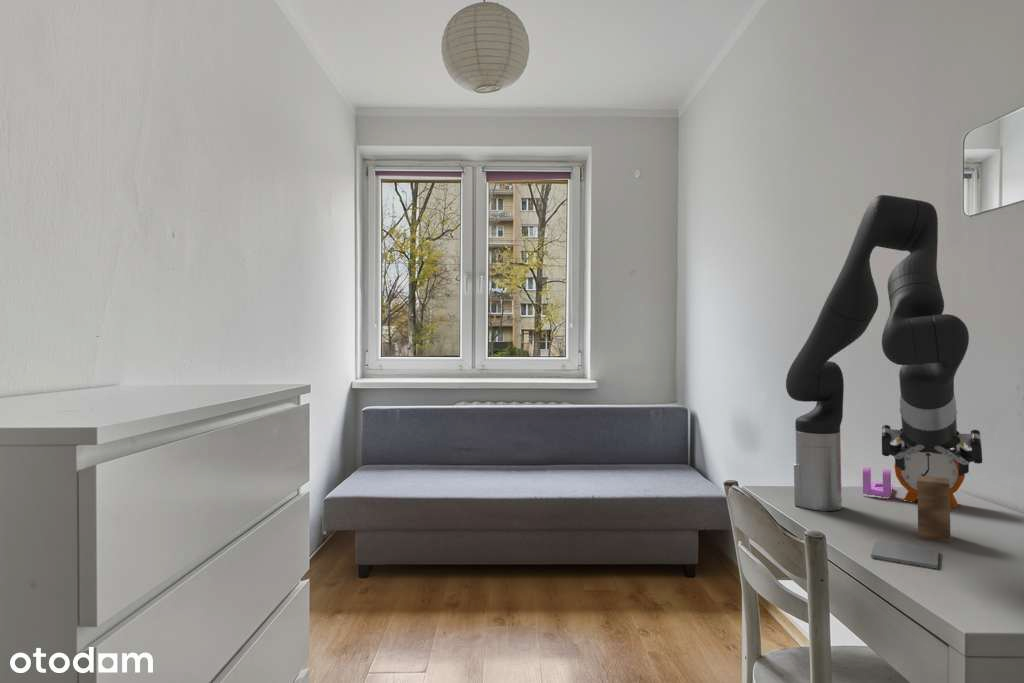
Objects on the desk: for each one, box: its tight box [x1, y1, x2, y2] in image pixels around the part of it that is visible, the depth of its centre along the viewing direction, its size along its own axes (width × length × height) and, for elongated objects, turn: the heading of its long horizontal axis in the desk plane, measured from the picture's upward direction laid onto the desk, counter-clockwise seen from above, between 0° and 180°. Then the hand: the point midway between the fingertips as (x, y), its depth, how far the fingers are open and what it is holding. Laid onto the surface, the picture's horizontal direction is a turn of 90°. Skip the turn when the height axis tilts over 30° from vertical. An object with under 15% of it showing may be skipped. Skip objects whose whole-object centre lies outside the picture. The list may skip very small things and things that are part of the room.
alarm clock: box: [893, 437, 966, 509], centre depth 141 cm, size 13×6×20 cm, turn 50°
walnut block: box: [917, 476, 952, 544], centre depth 117 cm, size 5×5×11 cm
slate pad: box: [870, 539, 939, 570], centre depth 107 cm, size 10×10×1 cm
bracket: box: [862, 466, 894, 499], centre depth 151 cm, size 13×6×7 cm, turn 144°
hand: (931, 468), depth 108 cm, fingers open, 8 cm apart
